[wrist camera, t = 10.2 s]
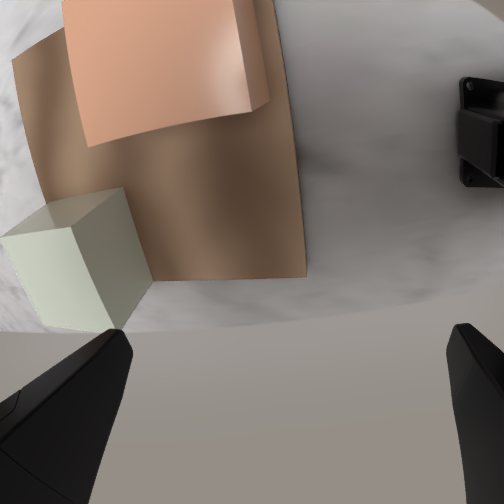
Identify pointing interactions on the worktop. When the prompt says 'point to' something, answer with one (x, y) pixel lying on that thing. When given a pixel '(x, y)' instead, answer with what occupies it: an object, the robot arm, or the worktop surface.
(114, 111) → the salmon foam cube
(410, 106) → the worktop surface
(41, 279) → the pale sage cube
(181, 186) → the walnut board
